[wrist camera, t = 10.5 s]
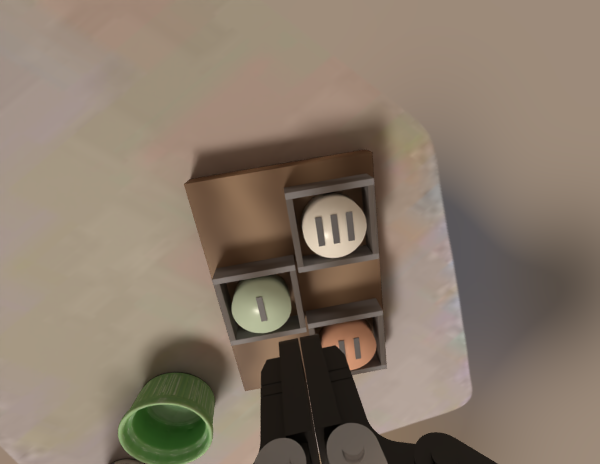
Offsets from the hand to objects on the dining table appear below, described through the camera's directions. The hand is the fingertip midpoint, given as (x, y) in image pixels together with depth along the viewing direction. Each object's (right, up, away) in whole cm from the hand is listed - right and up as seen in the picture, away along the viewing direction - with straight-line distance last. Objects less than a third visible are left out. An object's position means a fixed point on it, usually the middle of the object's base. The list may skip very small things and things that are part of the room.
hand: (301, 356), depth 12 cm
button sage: (-3, -1, +17) cm, 17 cm away
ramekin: (-14, -14, +23) cm, 30 cm away
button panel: (0, 0, +19) cm, 19 cm away
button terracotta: (+4, -6, +19) cm, 20 cm away
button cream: (+3, +6, +15) cm, 16 cm away
